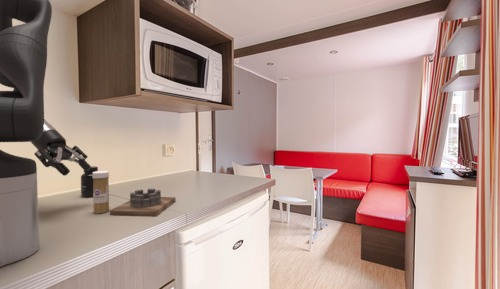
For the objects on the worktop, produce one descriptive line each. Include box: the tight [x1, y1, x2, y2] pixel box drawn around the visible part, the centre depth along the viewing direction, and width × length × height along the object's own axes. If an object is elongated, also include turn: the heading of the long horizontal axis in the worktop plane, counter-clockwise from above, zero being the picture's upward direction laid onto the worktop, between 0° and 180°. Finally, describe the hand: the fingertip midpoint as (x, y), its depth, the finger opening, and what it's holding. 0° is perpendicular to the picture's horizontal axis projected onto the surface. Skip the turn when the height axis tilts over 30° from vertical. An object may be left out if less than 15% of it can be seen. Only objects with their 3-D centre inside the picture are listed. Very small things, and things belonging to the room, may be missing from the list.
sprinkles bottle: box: [92, 170, 110, 214], centre depth 73 cm, size 5×5×13 cm
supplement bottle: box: [80, 165, 99, 198], centre depth 92 cm, size 7×7×12 cm
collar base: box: [109, 188, 176, 217], centre depth 78 cm, size 16×15×6 cm
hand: (78, 171), depth 73 cm, fingers open, 8 cm apart
